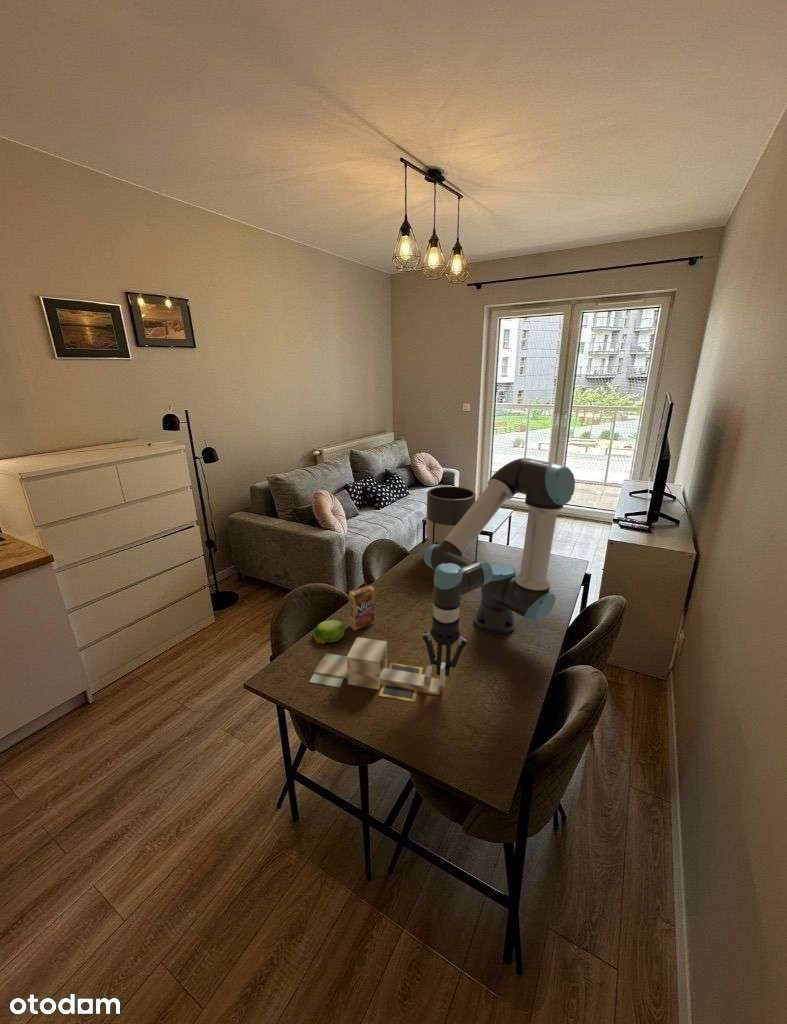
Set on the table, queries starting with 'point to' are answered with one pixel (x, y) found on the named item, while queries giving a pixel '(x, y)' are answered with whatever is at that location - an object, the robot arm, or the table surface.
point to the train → (407, 677)
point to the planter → (446, 511)
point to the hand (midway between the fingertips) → (442, 682)
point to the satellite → (368, 670)
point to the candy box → (361, 607)
